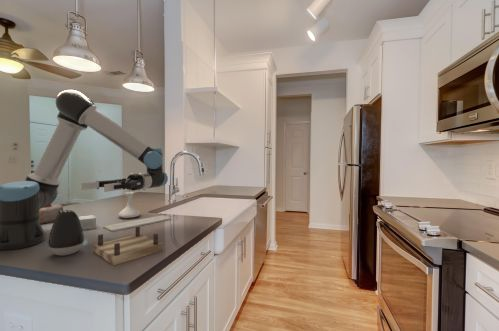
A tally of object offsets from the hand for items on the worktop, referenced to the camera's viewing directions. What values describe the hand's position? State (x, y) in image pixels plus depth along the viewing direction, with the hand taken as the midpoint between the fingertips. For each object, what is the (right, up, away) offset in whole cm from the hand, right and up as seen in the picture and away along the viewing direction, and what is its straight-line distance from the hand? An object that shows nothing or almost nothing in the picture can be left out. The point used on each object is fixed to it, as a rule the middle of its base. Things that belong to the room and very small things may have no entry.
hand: (93, 187), depth 95 cm
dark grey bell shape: (-4, -23, -8) cm, 24 cm away
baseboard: (+3, -22, +32) cm, 39 cm away
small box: (-18, -22, +22) cm, 36 cm away
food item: (-43, -21, +30) cm, 56 cm away
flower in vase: (-8, -21, +45) cm, 50 cm away
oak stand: (+16, -23, -5) cm, 28 cm away
